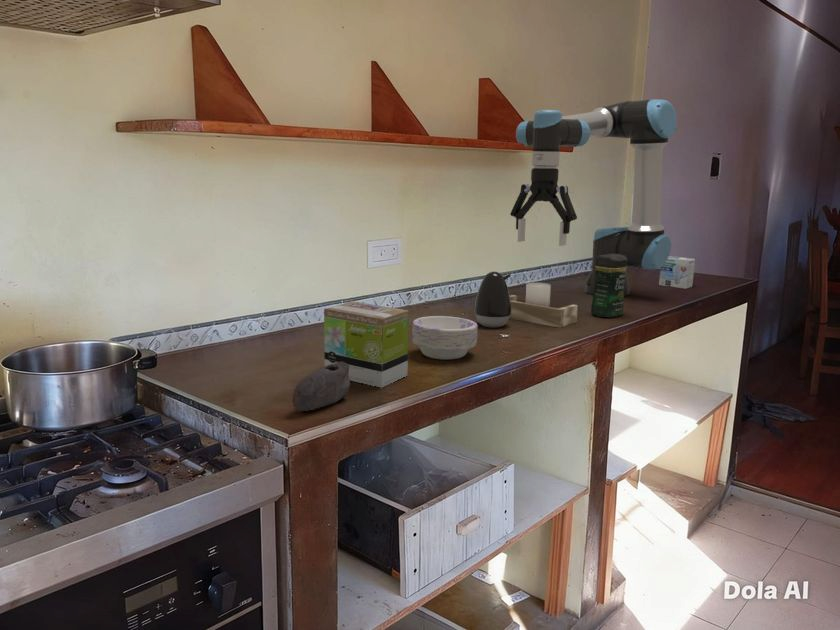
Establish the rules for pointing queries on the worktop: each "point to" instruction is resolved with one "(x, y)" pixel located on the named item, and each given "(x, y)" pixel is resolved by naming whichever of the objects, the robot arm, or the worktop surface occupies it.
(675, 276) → the light bulb box
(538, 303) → the white domed cylinder
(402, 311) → the tea box
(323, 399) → the perforated stone tool
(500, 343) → the worktop surface
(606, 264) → the coffee jar
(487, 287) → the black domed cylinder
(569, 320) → the rest cradle
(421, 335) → the paper bowls
